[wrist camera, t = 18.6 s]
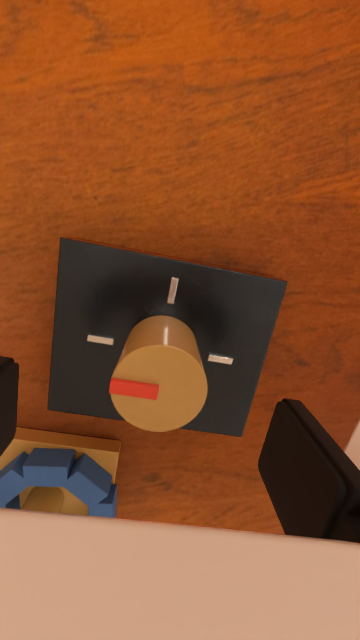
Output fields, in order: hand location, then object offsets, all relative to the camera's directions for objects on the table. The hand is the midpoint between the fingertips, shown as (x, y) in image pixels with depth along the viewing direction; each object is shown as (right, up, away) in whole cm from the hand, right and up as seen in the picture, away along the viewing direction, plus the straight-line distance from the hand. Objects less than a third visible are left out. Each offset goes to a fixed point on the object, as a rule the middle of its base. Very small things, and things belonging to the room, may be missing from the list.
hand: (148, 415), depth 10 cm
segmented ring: (-8, -9, +10) cm, 16 cm away
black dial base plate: (0, +2, +8) cm, 9 cm away
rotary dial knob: (0, +2, +6) cm, 6 cm away
